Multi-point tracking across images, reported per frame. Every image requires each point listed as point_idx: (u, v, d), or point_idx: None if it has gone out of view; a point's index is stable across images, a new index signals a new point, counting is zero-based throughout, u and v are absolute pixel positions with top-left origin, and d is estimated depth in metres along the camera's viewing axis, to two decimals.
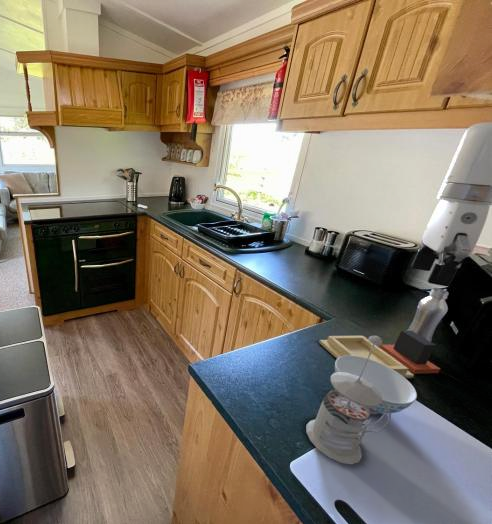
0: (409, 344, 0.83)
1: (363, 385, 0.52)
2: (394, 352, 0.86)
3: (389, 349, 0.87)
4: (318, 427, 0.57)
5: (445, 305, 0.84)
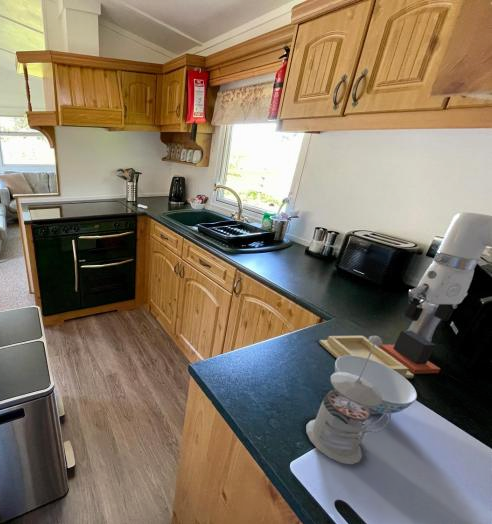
0: (409, 344, 0.83)
1: (363, 385, 0.52)
2: (394, 352, 0.86)
3: (389, 349, 0.87)
4: (318, 427, 0.57)
5: None
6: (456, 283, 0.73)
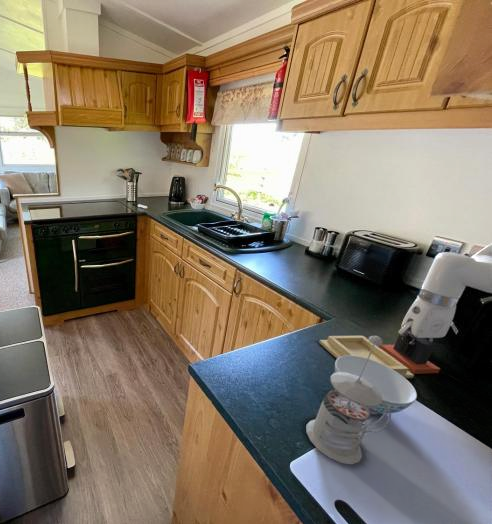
0: None
1: (363, 385, 0.52)
2: (394, 352, 0.86)
3: (389, 349, 0.87)
4: (318, 427, 0.57)
5: None
6: (439, 319, 0.77)
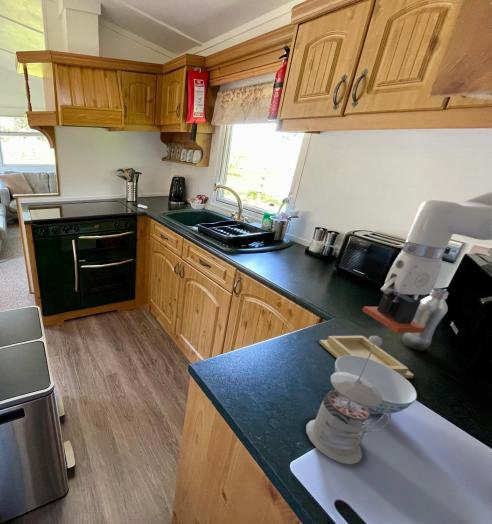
0: None
1: (363, 385, 0.52)
2: (377, 313, 0.81)
3: (372, 310, 0.82)
4: (318, 427, 0.57)
5: (445, 305, 0.84)
6: (424, 272, 0.72)
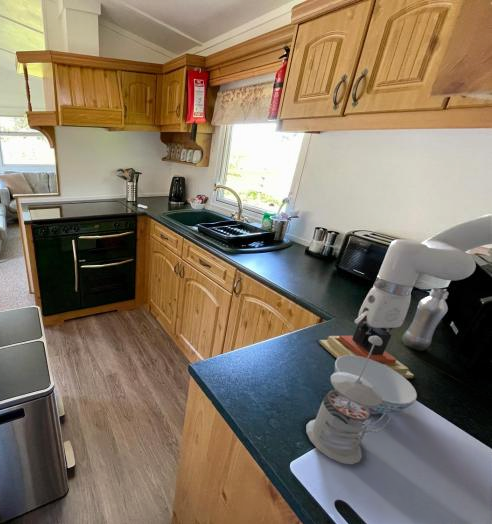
0: None
1: (363, 385, 0.52)
2: (352, 343, 0.84)
3: (348, 340, 0.85)
4: (318, 427, 0.57)
5: (445, 305, 0.84)
6: (394, 308, 0.75)
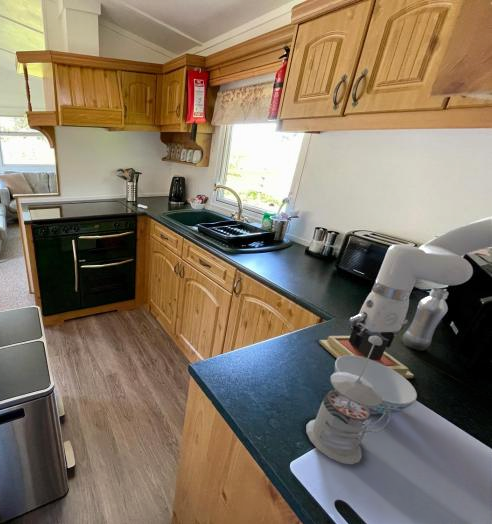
0: (364, 340, 0.82)
1: (363, 385, 0.52)
2: (350, 348, 0.85)
3: (346, 345, 0.86)
4: (318, 427, 0.57)
5: (445, 305, 0.84)
6: (392, 312, 0.76)
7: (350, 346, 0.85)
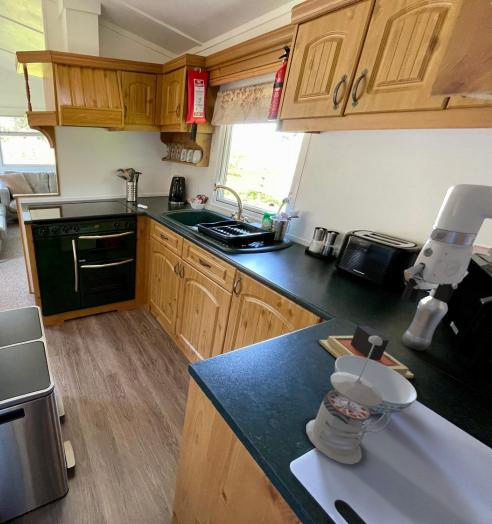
0: (364, 340, 0.82)
1: (363, 385, 0.52)
2: (350, 348, 0.85)
3: (346, 345, 0.86)
4: (318, 427, 0.57)
5: (445, 305, 0.84)
6: (455, 260, 0.68)
7: (350, 346, 0.85)
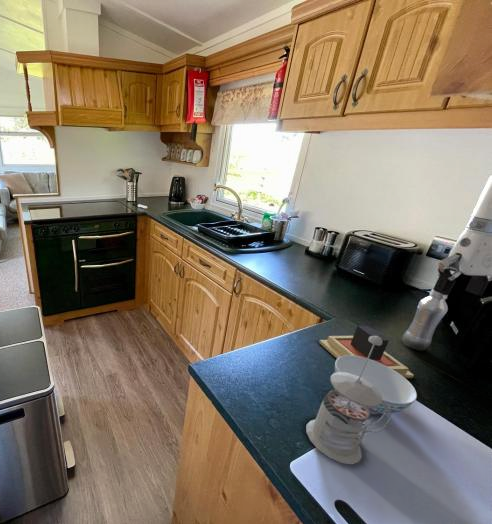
0: (364, 340, 0.82)
1: (363, 385, 0.52)
2: (350, 348, 0.85)
3: (346, 345, 0.86)
4: (318, 427, 0.57)
5: (445, 305, 0.84)
6: None
7: (350, 346, 0.85)
